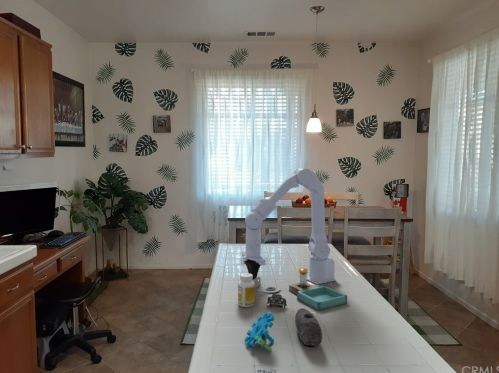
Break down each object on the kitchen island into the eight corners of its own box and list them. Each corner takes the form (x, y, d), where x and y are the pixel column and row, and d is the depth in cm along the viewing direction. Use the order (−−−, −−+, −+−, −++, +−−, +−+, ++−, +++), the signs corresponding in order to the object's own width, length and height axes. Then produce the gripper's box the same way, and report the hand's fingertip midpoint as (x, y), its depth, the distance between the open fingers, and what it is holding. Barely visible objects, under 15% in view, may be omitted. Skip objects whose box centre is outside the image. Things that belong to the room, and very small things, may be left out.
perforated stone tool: (290, 324, 106) (291, 300, 106) (309, 324, 107) (309, 300, 106) (302, 351, 91) (302, 324, 91) (323, 351, 92) (324, 323, 91)
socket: (304, 287, 137) (304, 281, 137) (317, 293, 131) (317, 287, 131) (289, 290, 134) (289, 284, 133) (301, 296, 128) (301, 290, 127)
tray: (324, 292, 131) (324, 285, 131) (347, 303, 122) (347, 295, 122) (297, 298, 125) (297, 291, 125) (318, 310, 116) (318, 302, 116)
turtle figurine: (263, 310, 117) (263, 296, 117) (268, 303, 123) (268, 289, 123) (311, 316, 113) (312, 302, 112) (314, 308, 119) (314, 294, 119)
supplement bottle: (256, 302, 123) (257, 273, 122) (251, 308, 118) (251, 278, 117) (241, 300, 124) (241, 271, 124) (235, 306, 119) (235, 276, 119)
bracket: (274, 296, 129) (274, 286, 129) (250, 290, 135) (249, 281, 134) (283, 290, 135) (283, 281, 134) (259, 285, 140) (259, 276, 140)
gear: (244, 326, 101) (270, 303, 99) (259, 341, 102) (286, 318, 100) (241, 353, 90) (270, 328, 88) (258, 369, 91) (288, 344, 89)
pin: (303, 289, 134) (304, 267, 134) (309, 292, 132) (309, 270, 131) (297, 291, 133) (297, 269, 132) (302, 293, 130) (302, 271, 130)
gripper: (235, 241, 146) (235, 275, 147) (253, 249, 134) (253, 286, 135) (250, 239, 150) (250, 272, 151) (270, 247, 137) (270, 283, 138)
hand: (253, 279), depth 143 cm, fingers closed
